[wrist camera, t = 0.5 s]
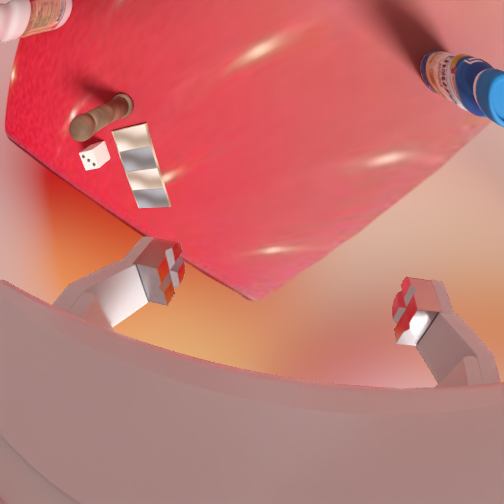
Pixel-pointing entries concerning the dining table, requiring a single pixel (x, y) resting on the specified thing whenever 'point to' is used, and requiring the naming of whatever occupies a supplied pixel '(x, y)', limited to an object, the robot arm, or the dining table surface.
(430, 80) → the beverage bottle
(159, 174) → the board
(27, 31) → the fruit juice
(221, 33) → the dining table surface
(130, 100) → the pawn
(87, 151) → the die
